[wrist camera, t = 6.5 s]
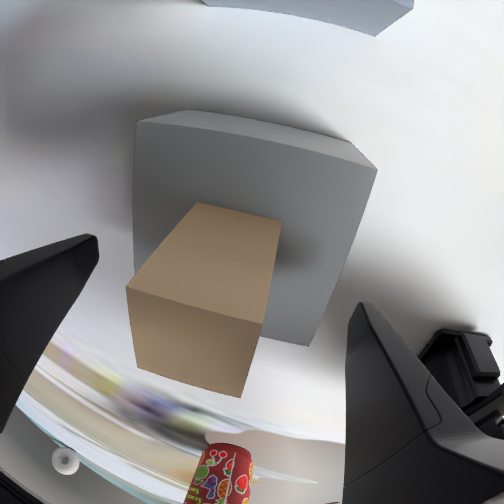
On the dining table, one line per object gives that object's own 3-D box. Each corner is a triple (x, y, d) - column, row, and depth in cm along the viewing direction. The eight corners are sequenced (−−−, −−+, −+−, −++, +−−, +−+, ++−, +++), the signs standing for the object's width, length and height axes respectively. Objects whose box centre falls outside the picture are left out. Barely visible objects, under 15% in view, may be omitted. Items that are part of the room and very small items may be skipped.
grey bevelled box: (309, 278, 18) (302, 446, 9) (177, 246, 18) (84, 381, 9) (351, 142, 13) (439, 243, 4) (190, 109, 14) (28, 156, 5)
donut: (62, 444, 64) (50, 467, 55) (57, 440, 62) (45, 463, 53) (85, 457, 62) (74, 481, 54) (81, 452, 60) (69, 477, 52)
